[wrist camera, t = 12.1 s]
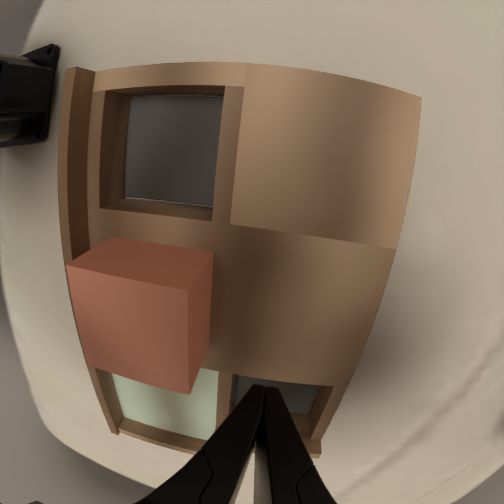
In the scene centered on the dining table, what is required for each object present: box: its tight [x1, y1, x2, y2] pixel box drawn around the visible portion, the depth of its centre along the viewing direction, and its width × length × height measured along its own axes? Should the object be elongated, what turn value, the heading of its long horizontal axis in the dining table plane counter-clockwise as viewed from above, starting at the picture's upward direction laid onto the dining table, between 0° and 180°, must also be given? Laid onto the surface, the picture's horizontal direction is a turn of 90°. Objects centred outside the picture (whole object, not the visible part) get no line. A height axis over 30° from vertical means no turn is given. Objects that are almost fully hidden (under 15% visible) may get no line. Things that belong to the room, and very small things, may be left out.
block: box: [66, 237, 214, 395], centre depth 12 cm, size 5×5×4 cm
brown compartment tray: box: [58, 62, 422, 458], centre depth 14 cm, size 15×23×4 cm, turn 173°
